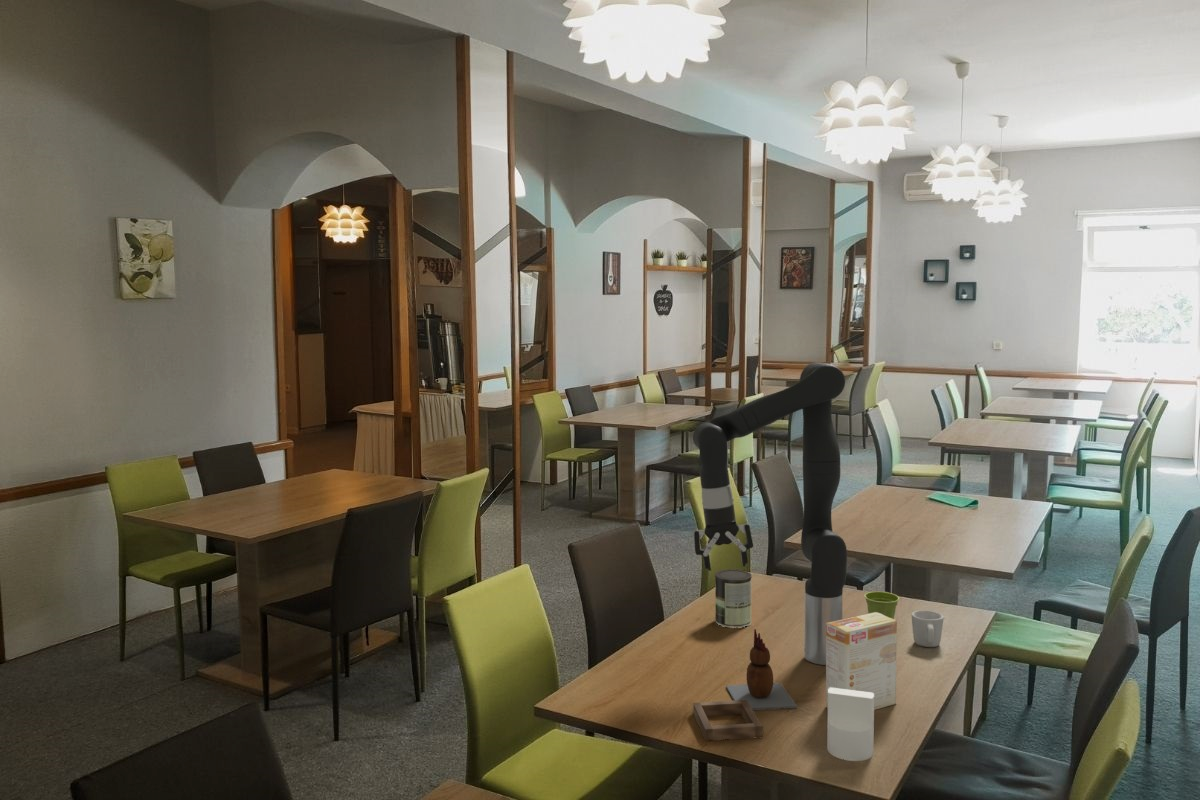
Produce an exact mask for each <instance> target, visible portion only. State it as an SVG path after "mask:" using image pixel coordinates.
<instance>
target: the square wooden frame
mask: <svg viewBox="0 0 1200 800" xmlns="http://www.w3.org/2000/svg"><path fill="white" fill-rule="evenodd" d="M692 708H693V710H692V712H693V713H692V714H693V717H694V719H695V721H696V723H697V726H698V728H699V727H700V728H699V730H700V729H701V730H700V732H701V734H702V737H703V738H705V739H704V741H705V740H713V741H720V740H719V739H722V740H721V741H723V739H724V740H725V739H730V740H742V739H741V738H747V739H755V738H754V737H762V738H763V725H762V723H761V722H760V720H759V718H758V717H757V716H758V715H756V713H755V712H754V711H755V710H752V708H751V707H750V705H749V703H748V702H747V700H737V701H734V700H721V701H704V702H702V701H701V702H692ZM730 715H731V716H732V715H733V716H735V715H741V716H742V718H743V719H744V721H745V723H738V724H737V723H736V724H718V725H717V724H716V725H711V723H710V720H709V718H708V717H713V716H716V717H717V716H730ZM725 741H726V740H725Z"/></svg>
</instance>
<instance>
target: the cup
mask: <svg viewBox="0 0 1200 800" xmlns="http://www.w3.org/2000/svg"><path fill="white" fill-rule="evenodd" d="M944 619H945V617H944V615H943V614H942V613H940V612H936V611H933V610H925V609H922V610H915V611H913V612H911V624H912V625H911V626H912V635H913V641H914V642H915V644H916V645H918V646H921V647H924V648H936V647H938V646H939V645H940V643H941V641H942V632H943V625H944Z"/></svg>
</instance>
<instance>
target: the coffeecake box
mask: <svg viewBox="0 0 1200 800" xmlns="http://www.w3.org/2000/svg"><path fill="white" fill-rule="evenodd" d="M897 622H898V620H896V619H895V618H894V619H892V618H889V617H887V616H884V615H883V614H880V613H877V612H874V613H869V614H868V613H866V614H861V615H857V616H852V617H849V618H848V617H847V618H844V619H843V618H842V620H838V621H834V622H829V623H826V665H825V679H826V680H825V707H826V708H827V709H828V689H829V688H830V687H833V688H840V689H848V690H856V691H864V692H872V693H874V711H875V710H879V709H883V708H886V707H890V706H893V705H897V640H898V639H897V637H898V636H897V630H898V628H897V626H898V623H897Z"/></svg>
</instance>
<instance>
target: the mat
mask: <svg viewBox="0 0 1200 800" xmlns="http://www.w3.org/2000/svg"><path fill="white" fill-rule="evenodd" d="M726 689H727V691H728V693H729V695H730V697H731V698H732V701H737V700H747V702H748V703H749V705H750V707H751V708H752V710H753V711H763V710H762V709H771V710H781V709H780V708H784V710H785V709H786V710H787V708H788V709H797V708H798V705H797V704H796V702H795V701H794V700H793V698H792V697H791V695H790V694H789V693H788V691H787V690H786V688H785V687H784V686H783V685H782V683H781V682H773V688H772V691H771V693H770V695H769V696H767V697H765V698H757V697H754V696H752V695H751V694H750V692H749V689H748V685H747V683H746V684H732V685H726Z"/></svg>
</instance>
